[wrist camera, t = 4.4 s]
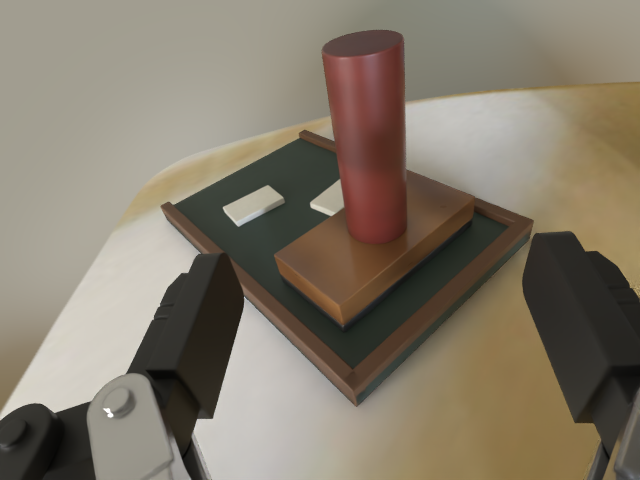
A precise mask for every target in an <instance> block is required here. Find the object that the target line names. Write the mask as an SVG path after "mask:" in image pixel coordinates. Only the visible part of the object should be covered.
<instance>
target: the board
mask: <svg viewBox="0 0 640 480" xmlns="http://www.w3.org/2000/svg"><path fill="white" fill-rule="evenodd" d="M299 137H300V138H299V139H297V140H295V141H293V142H291V143H289V144H287V145H285V146H284V147H282V148H280V149H278V150H276V151H274V152H272V153H270V154H269V155H267V156H265V157H263V158H261V159H259V160H257V161H255V162H254V163H252V164H250V165H248V166H246V167H244V168H242V169H240V170H239V171H237V172H235V173H233V174H231V175H229V176H227V177H225V178H224V179H222V180H220V181H218V182H216V183H214V184H212V185H210V186H209V187H207V188H205V189H203V190H201V191H199V192H197V193H195V194H194V195H192V196H190V197H188V198H186V199H184V200H182V201H180V202H179V203H177V204H175V205H172V204H171V203H170V202H167V203H165V204H163V205H161V209H162V211H163V213H164V214H165V216H166V218H167V220H168V221H169V222H170V223H171V224H172V225H173V226H174V227H175V228H176V229H177V230H178V231H179V232H180V233H181V234H182V235H183V236H184V237H185V238H186V239H187V240H188V241H189V242H190V243H191V244H192V245H193V246H194V247H195V248H196V249H197V250H198V251H199V252H200V253H201V254H207V253H223V252H224V253H226V254H227V255H228V256H229V258H230V261H231V263H232V265H233V268H234V270H235V272H236V275H237V277H238V279H239V282H240V284H241V286H242V289H243V294H244V296H245V297H246V298H247V299H248V300H249V301H250V302H251V303H252V304H253V305H254V306H255V307H256V308H257V309H258V310H259V311H260V312H261V313H262V314H263V315H264V316H265V317H266V318H267V319H268V320H269V321H270V322H271V323H272V324H273V325H274V326H275V327H276V328H277V329H278V330H279V331H280V332H281V333H282V334H283V335H284V336H285V337H286V338H287V339H288V340H289V341H290V342H291V343H292V344H293V345H294V346H295V347H296V348H297V349H298V350H299V351H300V352H301V353H302V354H303V355H304V356H305V357H306V358H307V359H308V360H309V361H310V362H311V363H312V364H313V365H314V366H315V367H316V368H317V369H318V370H319V371H320V372H321V373H322V374H323V375H324V376H326V377H327V378H328V379H329V380H330V381H331V382H332V383H333V384H334V385H335V386H336V387H337V388H338V389H339V390H340V391H341V392H342V393H343V394H344V395H345V396H346V397H347V398H348V399H349V400H350V401H351V402H352V403H353V404H354V405H355V406H356V407H357V406H358V405H359V404H360V403H361V402H362V401H363V400H364V399H365V398H366V397H367V396H368V395H369V394H370V393H371V392H372V391H373V390H374V389H375V388H376V387H377V386H378V385H380V384H381V383H382V382H383V381H384V380H385V379H386V378H387V377H388V376H389V375H390V374H391V373H392V372H393V371H394V370H395V369H396V368H397V367H398V366H399V365H400V364H401V363H402V362H403V361H404V360H405V359H406V358H407V357H408V356H409V355H410V354H411V353H412V352H413V351H415V350H416V349H417V348H418V347H419V346H420V345H421V344H422V343H423V342H424V341H425V340H426V339H427V338H428V337H429V336H430V335H431V334H432V333H433V332H434V331H435V330H436V329H437V328H438V327H439V326H440V325H441V324H442V323H443V322H444V321H445V320H446V319H447V318H449V317H450V316H451V315H452V314H453V313H454V312H455V311H456V310H457V309H458V308H459V307H460V306H461V305H462V304H463V303H464V302H465V301H466V300H467V299H468V298H469V297H470V296H471V295H472V294H473V293H474V292H475V291H476V290H477V289H478V288H479V287H480V286H481V285H482V284H484V283H485V282H486V281H487V280H488V279H489V278H490V277H491V276H492V275H493V274H494V273H495V272H496V271H497V270H498V269H499V268H500V267H501V266H502V265H503V264H504V263H505V262H506V261H507V260H508V259H509V258H510V257H511V256H512V255H513V254H514V253H515V252H516V251H517V250H519V249H520V248H521V247H522V246H523V245H524V244H525V243H526V242H527V241H528V240H529V239H530V235H531V231H532V227H533V223H534V220H532V219H529V218H526V217H524V216H521V215H518V214H516V213H513V212H511V211H508V210H506V209H503V208H501V207H498V206H496V205H493V204H491V203H488V202H486V201H483V200H481V199H478V198H476V197H475V204H474V212H473V221H472V225H471V226H470V227H469V228H468V229H467V230H465V231H464V232H463V233H462V234H461V235H459V236H458V237H457V238H456V239H455V240H454V241H452V242H451V243H450V244H449V245H448V246H447V247H445V248H444V249H443V250H442V251H441V252H439V253H438V254H437V255H436V256H435V257H434V258H432V259H431V260H430V261H429V262H428V263H426V264H425V265H424V266H423V267H422V268H421V269H419V270H418V271H417V272H416V273H415V274H414V275H412V276H411V277H410V278H409V279H408V280H406V281H405V282H404V283H403V284H402V285H401V286H399V287H398V288H397V289H396V290H395V291H393V292H392V293H391V294H390V295H389V296H388V297H386V298H385V299H384V300H383V301H382V302H381V303H379V304H378V305H377V306H376V307H375V308H373V309H372V310H371V311H370V312H369V313H368V314H366V315H365V316H364V317H363V318H362V319H360V320H359V321H358V322H357V323H356V324H355V325H353V326H352V327H351V328H350V329H349V330H347V331H346V332H345V333H344V332H343V331H342V330H340V329H339V328H338V327H337V326H336V325H334V324H333V323H332V322H331V321H330V320H329V319H327V318H326V317H325V316H324V315H323V314H321V313H320V312H319V311H318V310H317V309H315V308H314V307H313V306H312V305H311V304H310V303H308V302H307V301H306V300H305V299H304V298H302V297H301V296H300V295H299V294H298V293H296V292H295V291H294V290H293V289H292V288H291V287H289V286H288V285H287V284H286V283H285V282H283V281H282V278H281V275H280V272H279V269H278V266H277V263H276V260H275V257H274V254H275V253H277V252H278V251H280V250H281V249H283V248H284V247H286V246H287V245H289V244H290V243H292V242H293V241H295V240H296V239H298V238H299V237H301V236H302V235H304V234H305V233H307V232H308V231H310V230H311V229H313V228H314V227H316V226H317V225H319V224H320V223H322V222H323V221H325V220H326V219H328V218H329V217H331V216H330V215H327V214H325V213H322V212H320V211H317V210H315V209H313V208H311V205H310V202H311V201H313V200H314V199H315V198H316V197H318V196H319V195H320V194H322V193H323V192H324V191H325V190H327V189H328V188H329V187H330V186H332V185H333V184H334V183H336V182H337V181H338V180H339V179H340V174H339V167H338V160H337V154H336V147H335V142H334V141H332V140H329V139H327V138H324V137H322V136H319V135H317V134H314V133H312V132H309V131H307V130H304V131H302V132H300V133H299ZM267 185H269V186H270V187H271V188H272V189H274V190H275V191H276V192H277V193H279V194H280V195H281V196H282V197H283V198H284V201H285V203H283V204H281V205H279V206H278V207H276V208H274V209H272V210H270V211H268V212H266V213H264V214H262V215H260V216H258V217H256V218H254V219H252V220H251V221H249V222H247V223H245V224H243V225H241V226H239V227H238V226H237V225H236V224H235V223H234V222H233V221H232V220H231V219H230V217H229V216H228V215H227V214H226V213H225V212H224V209H223V207H224V206H226V205H228V204H230V203H233V202H235V201H237V200H239V199H241V198H243V197H245V196H247V195H249V194H251V193H253V192H255V191H257V190H259V189H261V188H263V187H265V186H267Z"/></svg>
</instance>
